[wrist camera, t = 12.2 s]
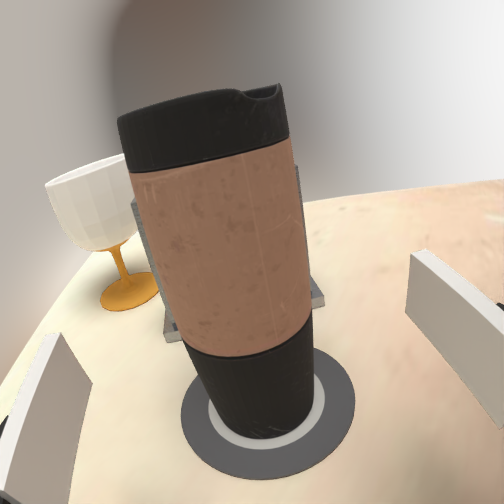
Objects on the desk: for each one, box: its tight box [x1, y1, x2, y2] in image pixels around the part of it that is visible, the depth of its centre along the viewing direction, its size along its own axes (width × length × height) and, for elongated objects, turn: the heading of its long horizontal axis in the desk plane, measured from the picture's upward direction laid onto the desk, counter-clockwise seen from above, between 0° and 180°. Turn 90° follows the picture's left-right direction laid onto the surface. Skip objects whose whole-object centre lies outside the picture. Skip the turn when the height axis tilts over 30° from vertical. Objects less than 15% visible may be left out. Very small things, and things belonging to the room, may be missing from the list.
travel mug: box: [117, 83, 314, 439], centre depth 17 cm, size 8×8×20 cm
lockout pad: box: [181, 348, 355, 480], centre depth 22 cm, size 13×13×1 cm
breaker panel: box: [130, 164, 325, 343], centre depth 30 cm, size 16×5×14 cm, turn 100°
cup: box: [45, 154, 159, 311], centre depth 37 cm, size 12×12×17 cm
